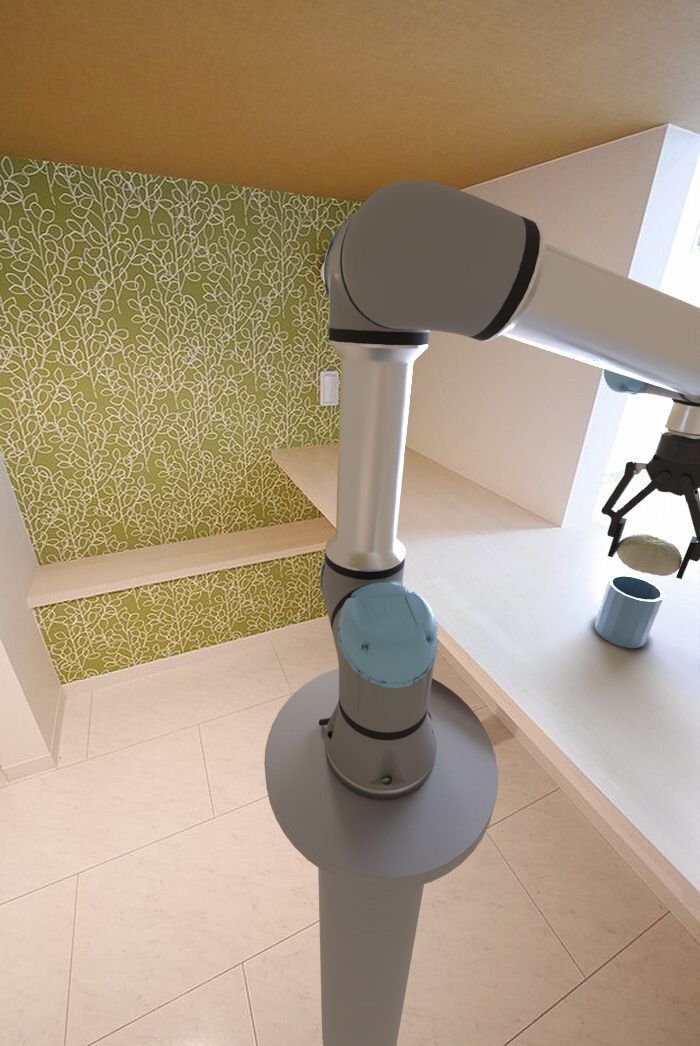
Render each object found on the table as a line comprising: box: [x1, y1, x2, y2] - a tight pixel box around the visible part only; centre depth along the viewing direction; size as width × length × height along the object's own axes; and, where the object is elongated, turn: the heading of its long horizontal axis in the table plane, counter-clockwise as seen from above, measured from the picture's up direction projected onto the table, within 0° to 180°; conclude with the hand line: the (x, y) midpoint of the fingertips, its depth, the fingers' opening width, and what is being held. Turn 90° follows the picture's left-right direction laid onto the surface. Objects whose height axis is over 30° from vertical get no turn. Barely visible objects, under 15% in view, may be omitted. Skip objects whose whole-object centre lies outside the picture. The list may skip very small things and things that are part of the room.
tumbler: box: [594, 574, 665, 649], centre depth 78 cm, size 8×8×10 cm
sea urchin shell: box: [616, 533, 683, 577], centre depth 73 cm, size 9×8×8 cm
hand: (644, 564), depth 74 cm, fingers closed on sea urchin shell, 9 cm apart
